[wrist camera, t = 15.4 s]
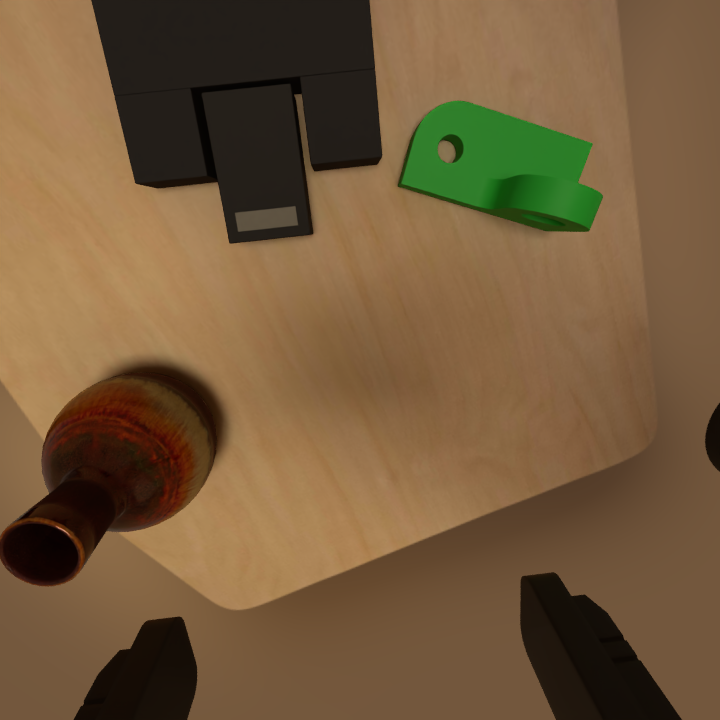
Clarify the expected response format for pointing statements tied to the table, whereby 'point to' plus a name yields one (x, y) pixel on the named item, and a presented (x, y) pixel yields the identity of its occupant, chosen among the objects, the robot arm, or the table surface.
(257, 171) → the black box
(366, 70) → the base pad
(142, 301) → the table surface
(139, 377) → the vase
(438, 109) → the mechanical part
